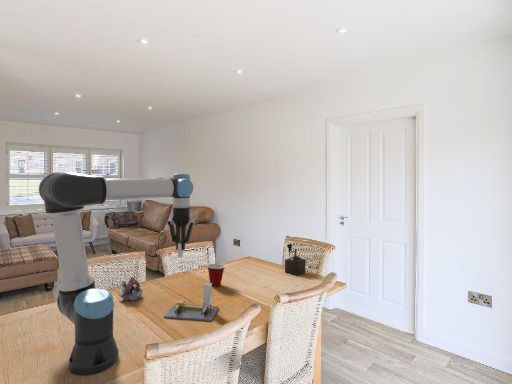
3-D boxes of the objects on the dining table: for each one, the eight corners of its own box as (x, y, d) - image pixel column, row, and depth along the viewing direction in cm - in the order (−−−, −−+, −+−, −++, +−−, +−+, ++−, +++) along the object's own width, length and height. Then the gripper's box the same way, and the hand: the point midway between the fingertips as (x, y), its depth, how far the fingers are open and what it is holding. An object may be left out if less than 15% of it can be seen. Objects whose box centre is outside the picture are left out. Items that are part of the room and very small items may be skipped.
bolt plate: (211, 321, 138) (211, 319, 138) (163, 317, 141) (163, 315, 141) (218, 308, 152) (218, 306, 152) (175, 305, 155) (175, 303, 155)
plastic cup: (228, 284, 185) (229, 264, 184) (215, 289, 176) (216, 269, 176) (215, 280, 192) (216, 261, 191) (202, 285, 183) (202, 265, 182)
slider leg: (206, 315, 142) (207, 289, 141) (200, 315, 142) (200, 288, 141) (211, 307, 150) (212, 282, 150) (205, 307, 151) (206, 282, 150)
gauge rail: (208, 316, 141) (209, 309, 141) (170, 313, 143) (170, 306, 143) (213, 308, 150) (213, 302, 150) (177, 305, 152) (177, 299, 152)
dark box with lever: (306, 272, 212) (307, 246, 211) (296, 276, 204) (297, 249, 204) (288, 267, 223) (289, 242, 222) (278, 270, 215) (279, 245, 214)
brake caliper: (134, 299, 154) (123, 278, 156) (120, 309, 157) (109, 289, 159) (150, 291, 165) (138, 272, 167) (136, 301, 168) (125, 282, 170)
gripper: (197, 206, 149) (196, 255, 150) (171, 205, 151) (170, 254, 152) (191, 208, 141) (190, 259, 142) (164, 206, 143) (163, 257, 144)
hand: (180, 256), depth 147 cm, fingers closed
